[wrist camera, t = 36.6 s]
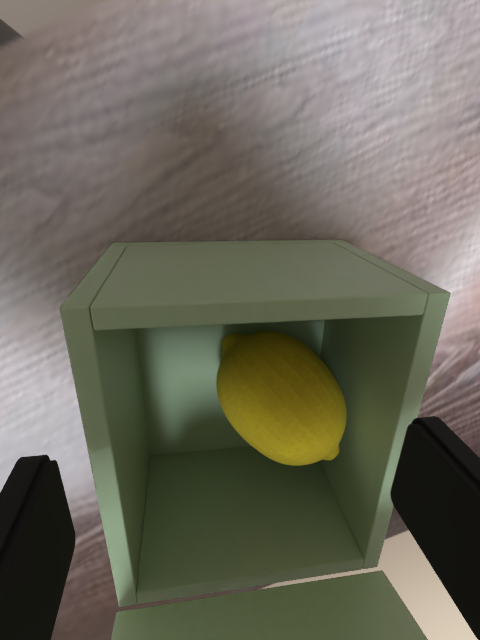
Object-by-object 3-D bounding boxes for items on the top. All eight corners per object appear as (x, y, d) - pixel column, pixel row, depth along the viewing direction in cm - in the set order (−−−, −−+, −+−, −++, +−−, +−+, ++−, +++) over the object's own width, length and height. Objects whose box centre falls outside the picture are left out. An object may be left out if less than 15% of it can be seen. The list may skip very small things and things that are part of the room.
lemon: (166, 384, 17) (281, 521, 16) (241, 303, 15) (380, 451, 14) (214, 358, 22) (305, 459, 21) (276, 295, 20) (379, 402, 19)
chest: (112, 242, 18) (58, 307, 10) (342, 239, 20) (451, 292, 12) (139, 457, 24) (118, 607, 16) (315, 439, 25) (377, 567, 17)
